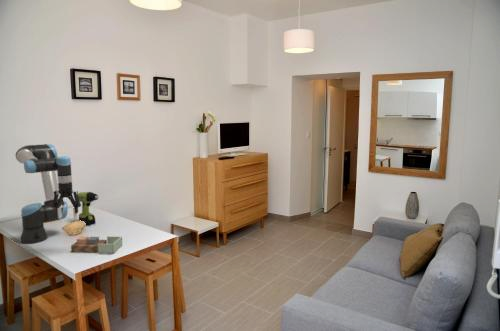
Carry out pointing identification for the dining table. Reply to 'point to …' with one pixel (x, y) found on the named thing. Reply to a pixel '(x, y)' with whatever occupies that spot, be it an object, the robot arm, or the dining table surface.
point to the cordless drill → (87, 207)
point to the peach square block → (82, 240)
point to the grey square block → (92, 240)
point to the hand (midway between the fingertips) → (67, 218)
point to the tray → (110, 245)
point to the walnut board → (87, 247)
